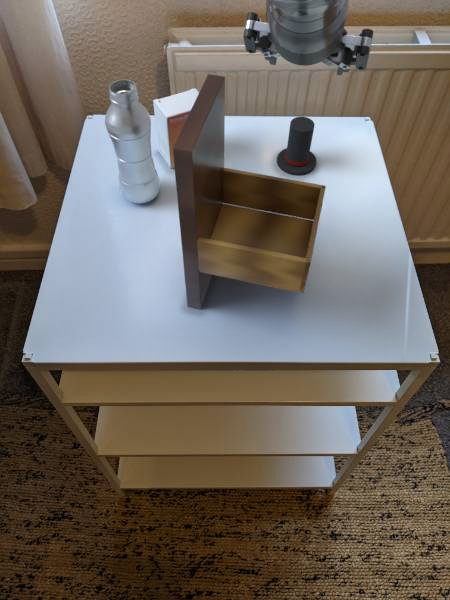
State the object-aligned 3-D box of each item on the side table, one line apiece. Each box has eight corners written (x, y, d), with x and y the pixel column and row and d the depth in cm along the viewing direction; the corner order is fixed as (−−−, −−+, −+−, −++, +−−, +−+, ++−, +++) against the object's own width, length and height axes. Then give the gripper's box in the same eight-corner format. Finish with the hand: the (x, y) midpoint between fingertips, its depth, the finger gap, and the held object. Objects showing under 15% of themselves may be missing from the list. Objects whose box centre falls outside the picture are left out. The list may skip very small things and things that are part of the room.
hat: (318, 152, 91) (326, 114, 85) (312, 178, 88) (320, 140, 81) (280, 146, 92) (285, 108, 86) (273, 171, 88) (277, 133, 82)
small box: (170, 169, 88) (165, 118, 80) (158, 151, 91) (151, 99, 82) (211, 156, 91) (210, 104, 82) (197, 138, 93) (195, 86, 85)
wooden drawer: (308, 259, 77) (347, 95, 54) (294, 330, 70) (331, 175, 47) (211, 239, 79) (207, 73, 56) (187, 306, 72) (172, 147, 49)
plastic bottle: (164, 205, 83) (150, 97, 67) (123, 211, 83) (99, 103, 66) (158, 179, 87) (144, 70, 70) (119, 184, 86) (95, 76, 70)
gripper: (392, -22, 46) (370, 38, 62) (241, -42, 48) (258, 22, 64) (372, 64, 48) (356, 101, 63) (227, 41, 49) (246, 83, 65)
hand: (307, 61), depth 64 cm, fingers open, 8 cm apart
